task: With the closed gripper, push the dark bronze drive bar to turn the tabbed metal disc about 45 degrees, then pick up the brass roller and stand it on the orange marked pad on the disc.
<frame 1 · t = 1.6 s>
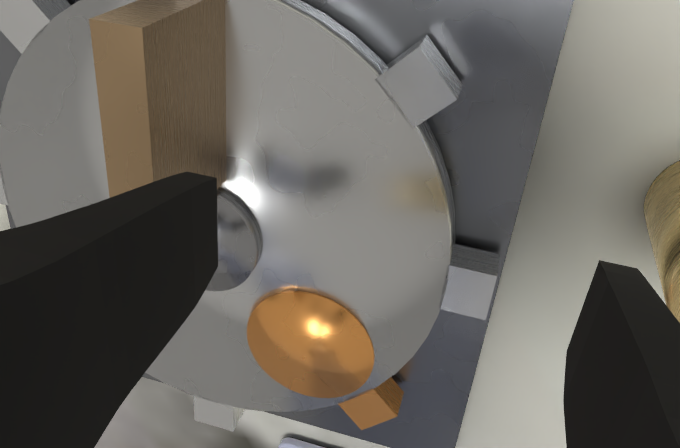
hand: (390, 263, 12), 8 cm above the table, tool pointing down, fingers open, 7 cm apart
tabbed metal disc: (188, 256, 19), point 4 cm above the table, hinge at 0.0°
base plate: (240, 196, 22), on the table
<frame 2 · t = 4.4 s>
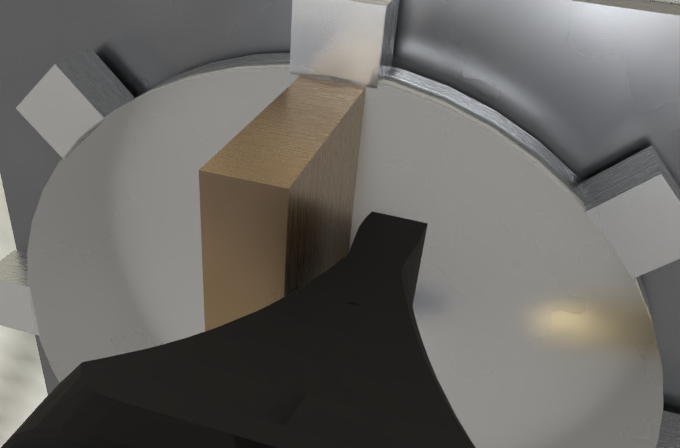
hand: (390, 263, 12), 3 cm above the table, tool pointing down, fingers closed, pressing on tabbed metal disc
tabbed metal disc: (289, 429, 14), point 4 cm above the table, hinge at 0.2°, touching gripper
base plate: (338, 320, 17), on the table
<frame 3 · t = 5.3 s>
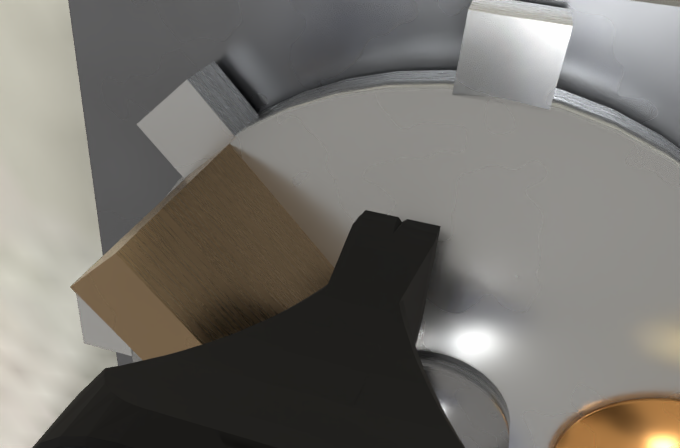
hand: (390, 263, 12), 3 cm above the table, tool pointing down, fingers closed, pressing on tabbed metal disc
base plate: (442, 341, 17), on the table
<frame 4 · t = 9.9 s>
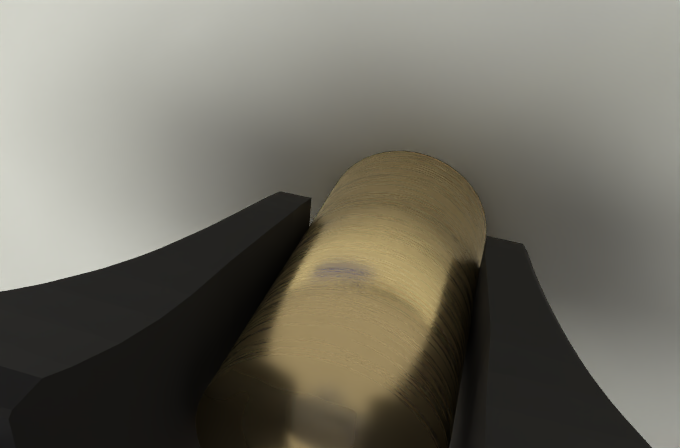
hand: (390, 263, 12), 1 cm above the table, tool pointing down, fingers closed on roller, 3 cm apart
roller: (404, 224, 13), on the table, touching gripper
when the fingers open (5 cm above the table, at t = 12.6 s): roller stays where it is, resting on tabbed metal disc.
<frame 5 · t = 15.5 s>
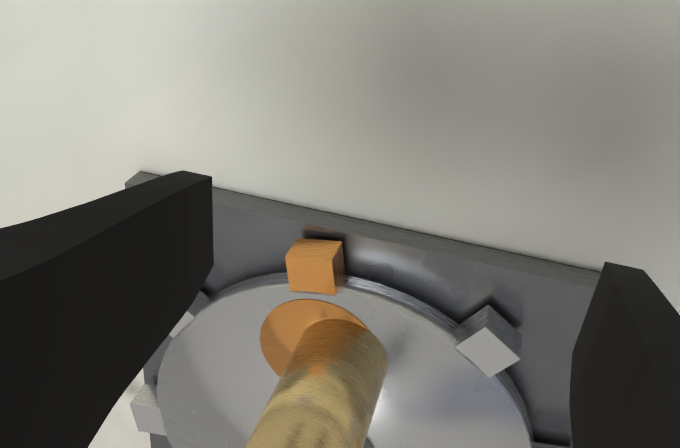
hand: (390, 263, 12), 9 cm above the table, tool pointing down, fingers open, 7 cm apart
roller: (342, 356, 23), point 3 cm above the table, touching tabbed metal disc
base plate: (348, 404, 27), on the table
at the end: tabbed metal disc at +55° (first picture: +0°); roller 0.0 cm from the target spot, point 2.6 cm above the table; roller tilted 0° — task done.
